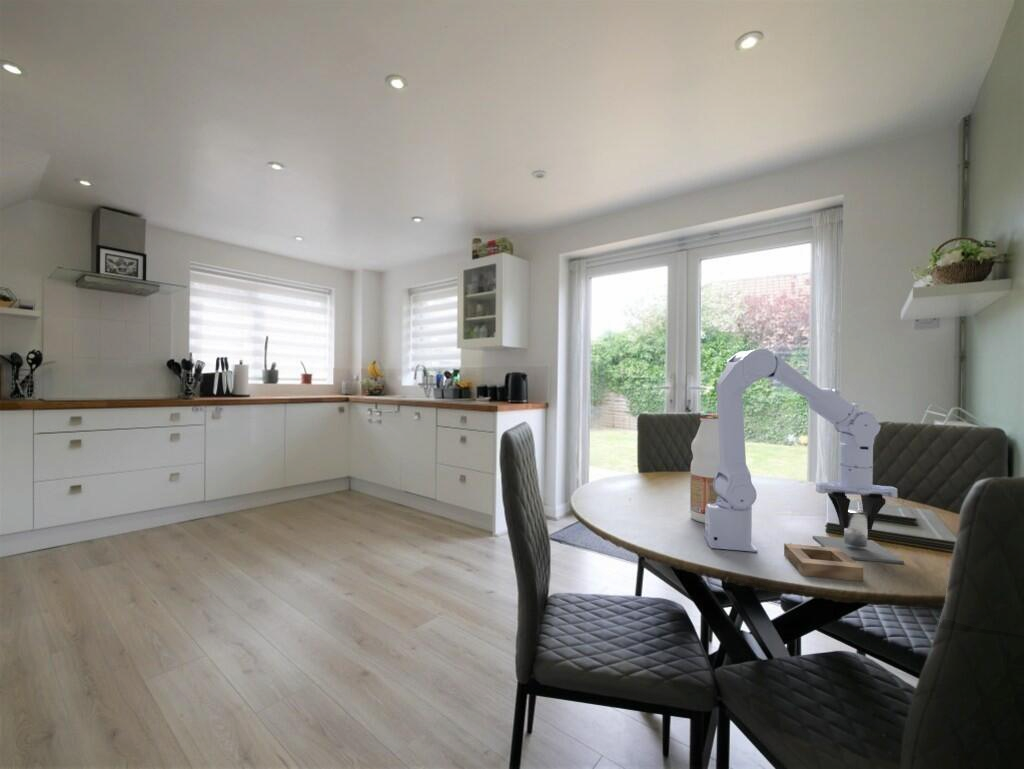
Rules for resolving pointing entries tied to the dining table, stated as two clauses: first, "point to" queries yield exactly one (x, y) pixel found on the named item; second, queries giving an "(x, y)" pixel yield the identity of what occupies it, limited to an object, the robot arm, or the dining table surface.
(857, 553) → the mat
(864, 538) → the plug
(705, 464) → the fruit juice
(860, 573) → the holder
